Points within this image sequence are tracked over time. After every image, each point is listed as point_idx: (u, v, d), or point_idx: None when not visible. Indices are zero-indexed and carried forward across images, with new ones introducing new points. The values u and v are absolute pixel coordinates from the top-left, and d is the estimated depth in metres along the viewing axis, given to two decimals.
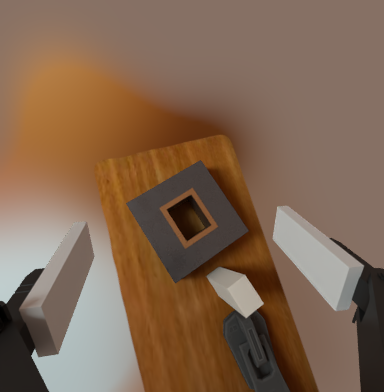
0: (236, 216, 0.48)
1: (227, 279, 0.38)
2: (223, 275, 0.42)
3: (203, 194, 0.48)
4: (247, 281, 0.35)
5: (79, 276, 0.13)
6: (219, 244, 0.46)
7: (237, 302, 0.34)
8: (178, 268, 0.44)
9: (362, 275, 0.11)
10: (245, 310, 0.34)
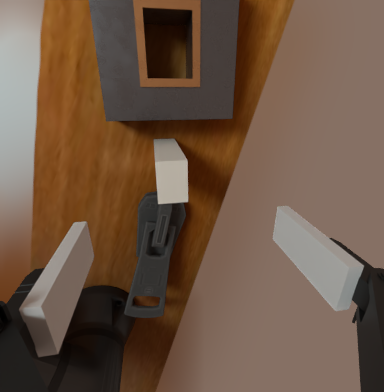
0: (230, 90, 0.32)
1: (166, 153, 0.28)
2: (167, 147, 0.32)
3: (209, 24, 0.29)
4: (185, 169, 0.25)
5: (79, 276, 0.13)
6: (187, 110, 0.33)
7: (158, 183, 0.25)
8: (119, 105, 0.31)
9: (362, 275, 0.11)
10: (162, 196, 0.26)
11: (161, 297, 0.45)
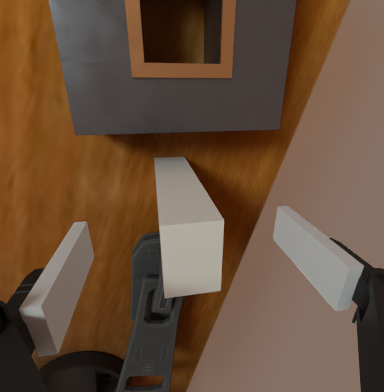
0: (280, 84, 0.20)
1: (178, 196, 0.16)
2: (178, 179, 0.19)
3: None
4: (219, 236, 0.13)
5: (80, 276, 0.13)
6: (210, 117, 0.20)
7: (165, 264, 0.13)
8: (97, 109, 0.18)
9: (362, 275, 0.11)
10: (173, 285, 0.14)
11: (165, 375, 0.33)
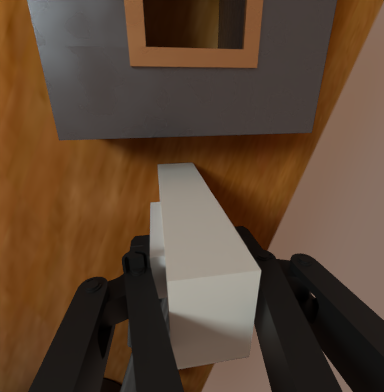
0: (316, 75, 0.16)
1: (191, 224, 0.12)
2: (188, 196, 0.15)
3: None
4: (252, 291, 0.09)
5: None
6: (228, 117, 0.16)
7: (175, 329, 0.09)
8: (86, 107, 0.14)
9: None
10: (184, 354, 0.10)
11: None
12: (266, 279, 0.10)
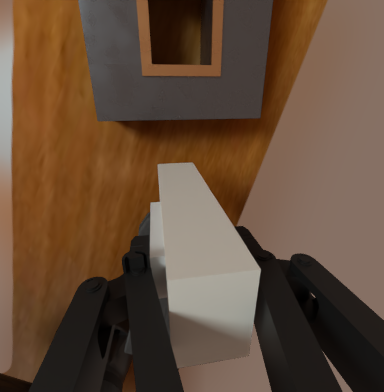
0: (260, 80, 0.25)
1: (191, 223, 0.12)
2: (188, 195, 0.15)
3: None
4: (252, 290, 0.09)
5: None
6: (203, 107, 0.25)
7: (175, 328, 0.09)
8: (115, 100, 0.24)
9: None
10: (184, 353, 0.10)
11: None
12: (266, 279, 0.10)
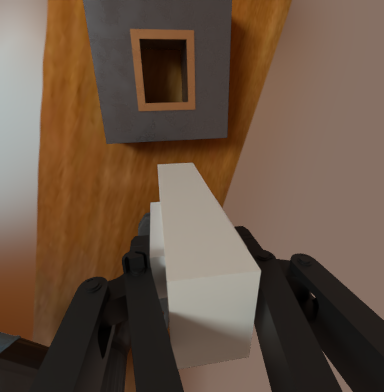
0: (225, 111, 0.34)
1: (191, 224, 0.12)
2: (188, 196, 0.15)
3: (202, 51, 0.31)
4: (252, 291, 0.09)
5: None
6: (184, 131, 0.34)
7: (175, 329, 0.09)
8: (119, 129, 0.32)
9: None
10: (184, 354, 0.10)
11: (165, 311, 0.47)
12: (266, 279, 0.10)
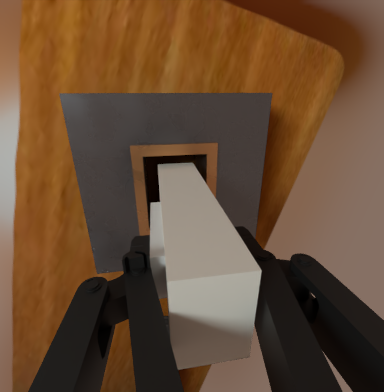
0: (252, 228, 0.26)
1: (191, 223, 0.12)
2: (188, 195, 0.15)
3: (228, 165, 0.23)
4: (252, 291, 0.09)
5: None
6: None
7: (175, 330, 0.09)
8: (113, 257, 0.25)
9: None
10: (185, 355, 0.10)
11: None
12: (266, 279, 0.10)
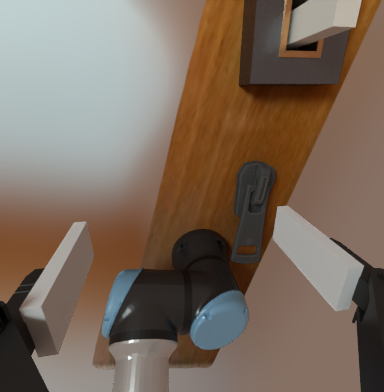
0: (340, 61, 0.43)
1: None
2: None
3: None
4: None
5: (79, 276, 0.13)
6: (307, 76, 0.43)
7: (338, 3, 0.30)
8: (261, 71, 0.41)
9: (362, 275, 0.11)
10: (338, 18, 0.31)
11: (258, 246, 0.57)
12: None
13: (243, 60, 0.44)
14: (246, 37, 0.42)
